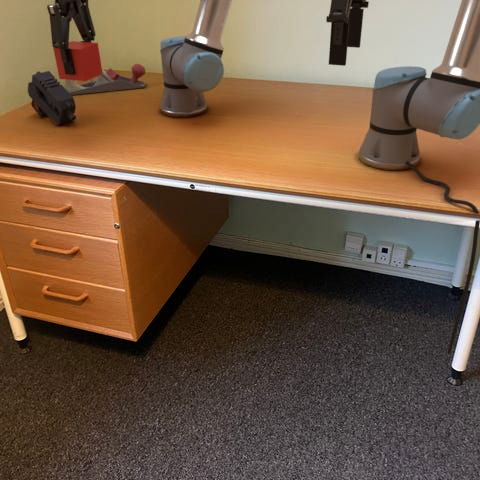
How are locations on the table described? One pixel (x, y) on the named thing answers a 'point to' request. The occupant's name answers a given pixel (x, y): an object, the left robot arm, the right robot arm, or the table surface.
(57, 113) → the tool
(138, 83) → the hand plane
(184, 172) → the table surface
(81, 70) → the block
